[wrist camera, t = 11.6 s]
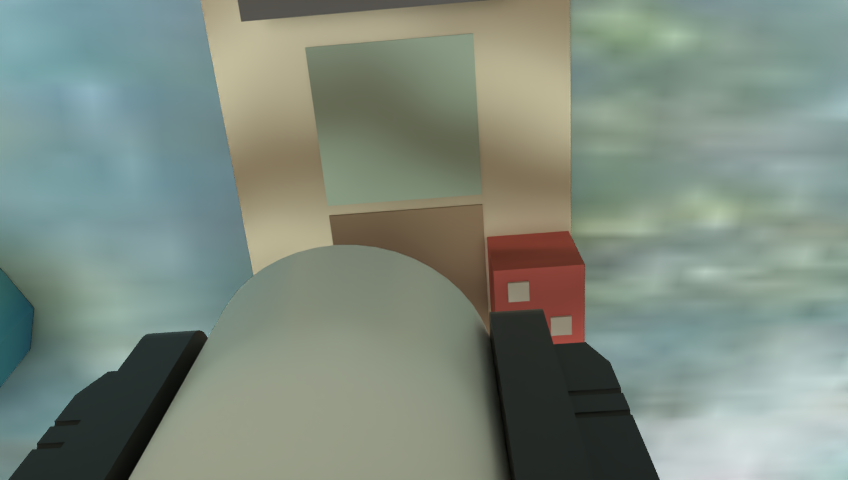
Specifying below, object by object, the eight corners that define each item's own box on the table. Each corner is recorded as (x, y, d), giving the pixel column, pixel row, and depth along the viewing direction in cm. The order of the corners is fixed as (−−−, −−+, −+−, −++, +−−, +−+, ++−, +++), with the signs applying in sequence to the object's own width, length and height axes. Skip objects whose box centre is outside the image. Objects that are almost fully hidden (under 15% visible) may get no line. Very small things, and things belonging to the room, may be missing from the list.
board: (566, 455, 32) (586, 534, 28) (301, 471, 32) (282, 550, 28) (559, -299, 21) (592, -361, 17) (166, -259, 22) (101, -309, 17)
